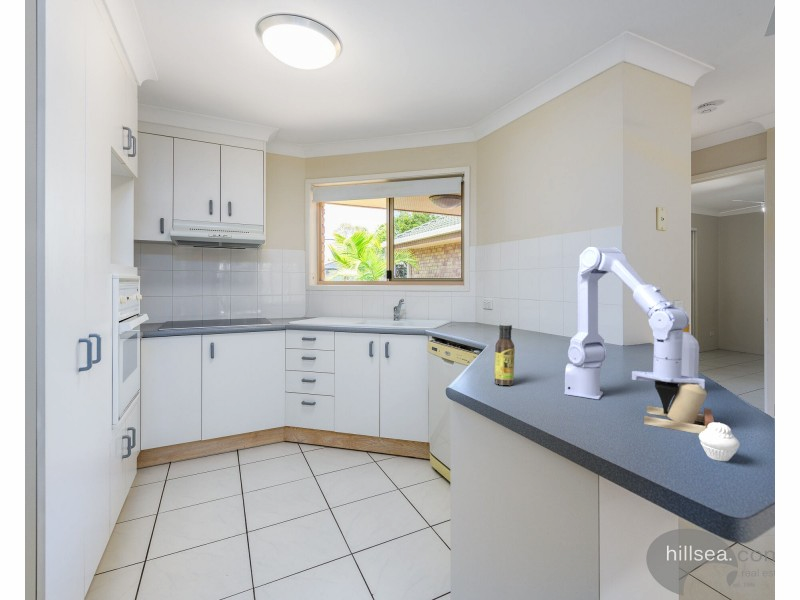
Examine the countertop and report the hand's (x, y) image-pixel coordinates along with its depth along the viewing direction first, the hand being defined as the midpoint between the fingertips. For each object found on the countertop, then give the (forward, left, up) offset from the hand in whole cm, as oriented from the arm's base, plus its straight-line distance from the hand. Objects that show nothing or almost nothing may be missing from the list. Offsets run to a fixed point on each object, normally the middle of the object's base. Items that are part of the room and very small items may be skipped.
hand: (665, 412), depth 96 cm
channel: (+2, 0, -2) cm, 3 cm away
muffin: (+9, -18, -2) cm, 20 cm away
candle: (+3, 0, -2) cm, 3 cm away
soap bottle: (+3, +35, -2) cm, 35 cm away
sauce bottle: (-45, +10, -2) cm, 46 cm away
